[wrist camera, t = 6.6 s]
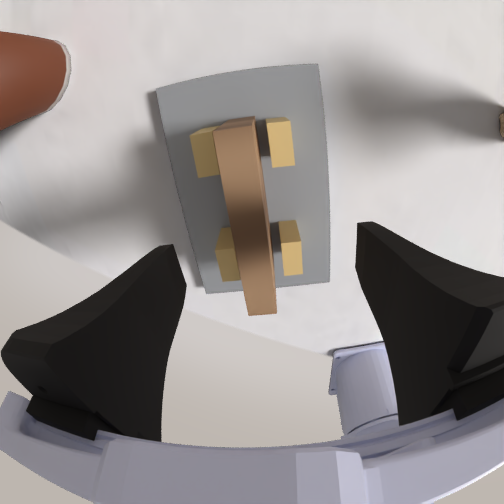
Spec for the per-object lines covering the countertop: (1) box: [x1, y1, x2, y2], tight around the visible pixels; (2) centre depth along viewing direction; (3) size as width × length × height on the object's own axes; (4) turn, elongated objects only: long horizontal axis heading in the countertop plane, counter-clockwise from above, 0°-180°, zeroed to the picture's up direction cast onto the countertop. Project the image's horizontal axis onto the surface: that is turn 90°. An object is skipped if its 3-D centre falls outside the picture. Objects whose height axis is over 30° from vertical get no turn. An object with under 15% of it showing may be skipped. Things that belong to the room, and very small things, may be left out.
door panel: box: [213, 116, 277, 316], centre depth 16 cm, size 10×2×6 cm, turn 8°
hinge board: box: [156, 64, 330, 294], centre depth 17 cm, size 16×10×4 cm, turn 8°
